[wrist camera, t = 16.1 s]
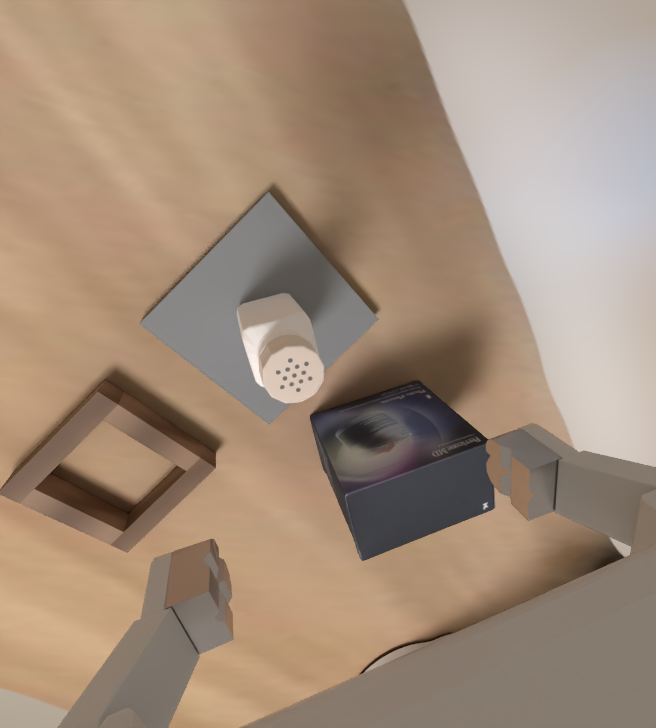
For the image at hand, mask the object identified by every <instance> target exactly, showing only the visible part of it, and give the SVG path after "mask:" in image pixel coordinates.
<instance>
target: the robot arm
mask: <svg viewBox="0 0 656 728" xmlns="http://www.w3.org/2000/svg"><path fill="white" fill-rule="evenodd" d="M486 452H487V453H489V454H490V455H491V456H490V457H489V459H488V461H487V463H486V466H487V473H488V476H489V478H490V481H491V482H492V484H493V485H494V487H495V488H496V489H497V490H498V491H499V492H500V493H501V494H504V495H507V496H510V497H511V504H512V505H513V506H514V507H515V508H516V509H517V510H518V511H519V512H520V513H521V514H522V515H523V516H524V517H525V518H526V519H527V520H528V521H529V520H531V519H534V518H537V517H540V516H542V515H545V514H548V513H550V512H553V511H555V513H557V514H560V515H562V516H564V517H566V518H569V519H571V520H573V521H575V522H578V523H580V524H582V525H584V526H587V527H589V528H591V529H593V530H595V531H598V532H600V533H602V534H604V535H607V536H609V537H611V538H613V539H616V540H618V541H620V542H622V543H625V544H627V545H629V546H631V547H632V548H631V553H630V555H629V556H627V557H625V558H623V559H620V560H618V561H616V562H614V563H611V564H609V565H607V566H604V567H602V568H600V569H598V570H595V571H593V572H591V573H589V574H586V575H584V576H582V577H580V578H577V579H575V580H573V581H571V582H568V583H566V584H564V585H561V586H559V587H557V588H555V589H552V590H550V591H548V592H546V593H543V594H541V595H539V596H537V597H534V598H532V599H530V600H528V601H525V602H523V603H521V604H519V605H516V606H514V607H512V608H510V609H507V610H505V611H503V612H501V613H498V614H496V615H494V616H491V617H489V618H487V619H485V620H482V621H480V622H478V623H476V624H473V625H471V626H469V627H467V628H464V629H462V630H460V631H458V632H455V633H453V634H449V635H445V636H443V637H440V638H438V639H435V640H433V641H430V642H425V643H418V644H413V645H409V646H406V647H403V648H400V649H398V650H395V651H393V652H391V653H389V654H388V655H386V656H384V657H382V658H381V659H379V660H378V661H377V662H375V663H374V664H373V665H371V666H370V667H369V668H368V669H367V670H366V671H365V672H364V673H362V674H360V675H358V676H356V677H353V678H351V679H349V680H347V681H344V682H342V683H340V684H338V685H335V686H333V687H331V688H328V689H326V690H324V691H322V692H319V693H317V694H315V695H313V696H310V697H308V698H306V699H304V700H301V701H299V702H297V703H294V704H292V705H290V706H288V707H285V708H283V709H281V710H279V711H276V712H274V713H272V714H270V715H267V716H265V717H263V718H260V719H258V720H256V721H254V722H251V723H249V724H247V725H245V726H242V727H240V728H656V467H652V466H648V465H643V464H639V463H635V462H630V461H626V460H622V459H618V458H613V457H609V456H604V455H600V454H596V453H592V452H587V451H582V452H578V451H577V450H575V449H574V448H572V447H571V446H569V445H568V444H566V443H565V442H563V441H562V440H560V439H559V438H557V437H556V436H554V435H553V434H551V433H550V432H548V431H547V430H545V429H544V428H542V427H541V426H539V425H537V424H534V423H531V424H529V425H526V426H523V427H521V428H518V429H517V430H513V431H510V432H507V433H505V434H502V435H499V436H497V437H494V438H491V439H488V440H487V443H486ZM231 598H232V589H231V581H230V576H229V572H228V569H227V566H226V563H225V561H224V559H221V558H219V548H218V546H217V544H216V542H215V540H214V539H209V540H206V541H203V542H200V543H197V544H194V545H191V546H188V547H185V548H182V549H179V550H176V551H174V552H172V553H168V554H165V555H162V556H159V557H156V558H154V560H153V561H152V563H151V566H150V572H149V577H148V582H147V587H146V593H145V598H144V603H143V609H142V614H141V619H139V620H137V621H134V623H133V624H132V625H131V627H130V628H129V629H128V631H127V632H126V634H125V635H124V636H123V638H122V639H121V640H120V642H119V643H118V645H117V646H116V647H115V649H114V650H113V652H112V653H111V654H110V656H109V657H108V658H107V660H106V661H105V663H104V664H103V665H102V667H101V668H100V670H99V671H98V672H97V674H96V675H95V676H94V678H93V679H92V681H91V682H90V683H89V685H88V686H87V687H86V689H85V690H84V692H83V693H82V694H81V696H80V697H79V699H78V700H77V701H76V703H75V704H74V705H73V707H72V708H71V710H70V711H69V712H68V714H67V715H66V717H65V718H64V719H63V721H62V722H61V724H60V725H59V726H58V728H168V727H169V724H170V722H171V720H172V718H173V715H174V713H175V711H176V709H177V706H178V704H179V702H180V700H181V697H182V695H183V693H184V691H185V688H186V686H187V684H188V682H189V679H190V677H191V675H192V673H193V670H194V668H195V666H196V664H197V661H198V659H199V654H201V653H204V652H206V651H208V650H211V649H213V648H215V647H218V646H220V645H222V644H224V643H227V642H229V641H231V640H233V613H232V611H231V609H230V607H229V605H228V603H229V601H230V600H231Z"/></svg>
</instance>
